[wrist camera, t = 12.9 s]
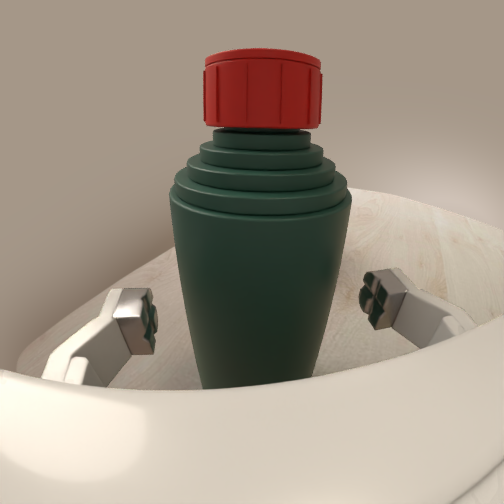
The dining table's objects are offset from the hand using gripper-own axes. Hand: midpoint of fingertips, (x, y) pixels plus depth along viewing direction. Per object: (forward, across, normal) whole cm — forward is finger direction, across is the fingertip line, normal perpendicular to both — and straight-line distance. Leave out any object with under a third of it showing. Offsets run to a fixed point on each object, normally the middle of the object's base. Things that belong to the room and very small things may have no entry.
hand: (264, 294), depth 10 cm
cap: (+2, 0, -8) cm, 8 cm away
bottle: (+2, 0, +10) cm, 11 cm away
